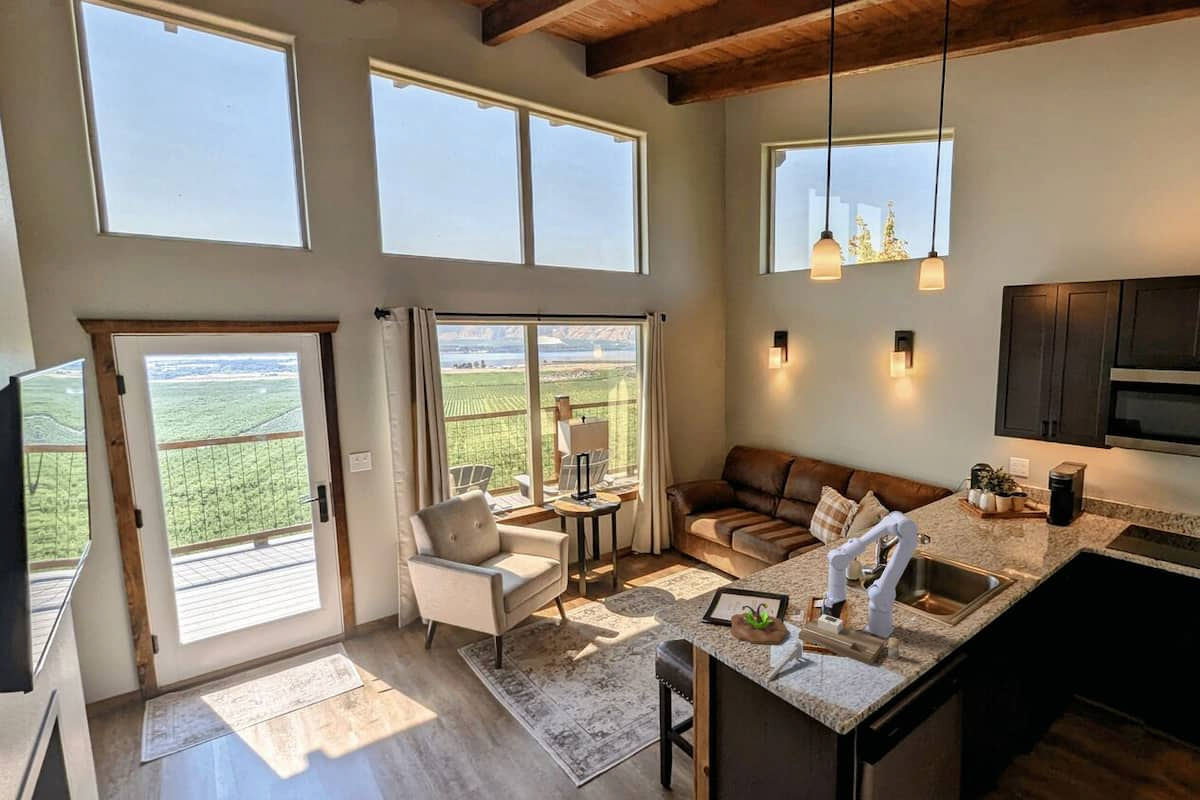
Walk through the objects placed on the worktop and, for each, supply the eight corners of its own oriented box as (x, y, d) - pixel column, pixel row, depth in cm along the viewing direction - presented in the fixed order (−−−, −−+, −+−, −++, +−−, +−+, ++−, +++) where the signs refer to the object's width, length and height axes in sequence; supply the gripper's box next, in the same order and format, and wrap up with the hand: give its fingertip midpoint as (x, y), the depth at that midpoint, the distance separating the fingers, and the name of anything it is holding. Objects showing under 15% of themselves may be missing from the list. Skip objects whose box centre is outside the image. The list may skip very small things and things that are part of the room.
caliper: (799, 657, 189) (799, 639, 188) (802, 658, 188) (802, 640, 187) (763, 682, 175) (764, 663, 175) (767, 684, 175) (767, 664, 174)
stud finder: (823, 621, 206) (823, 613, 206) (842, 628, 202) (843, 619, 201) (817, 627, 203) (817, 618, 202) (837, 634, 198) (837, 624, 198)
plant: (788, 651, 194) (789, 620, 192) (729, 644, 199) (730, 614, 197) (784, 621, 213) (785, 593, 212) (731, 616, 218) (731, 588, 216)
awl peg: (889, 653, 190) (890, 636, 190) (899, 656, 188) (900, 639, 187) (886, 657, 188) (887, 640, 187) (897, 661, 186) (897, 643, 185)
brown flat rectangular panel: (814, 623, 210) (814, 617, 210) (884, 647, 194) (884, 640, 193) (798, 639, 200) (798, 632, 199) (870, 665, 183) (870, 658, 183)
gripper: (833, 573, 212) (832, 607, 214) (817, 587, 202) (816, 622, 203) (852, 578, 207) (851, 613, 209) (837, 592, 197) (836, 629, 199)
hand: (835, 618), depth 206 cm, fingers closed
